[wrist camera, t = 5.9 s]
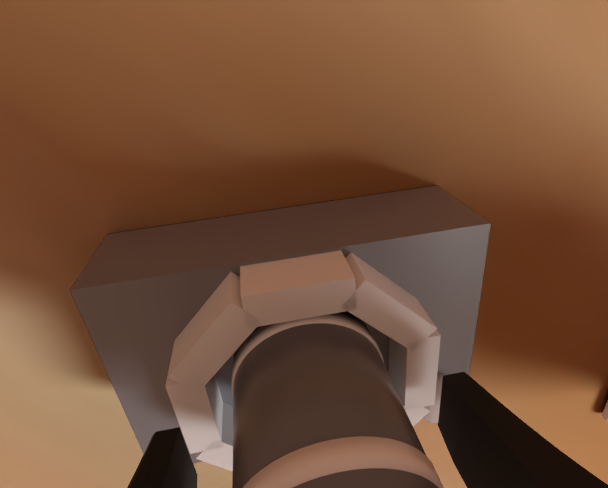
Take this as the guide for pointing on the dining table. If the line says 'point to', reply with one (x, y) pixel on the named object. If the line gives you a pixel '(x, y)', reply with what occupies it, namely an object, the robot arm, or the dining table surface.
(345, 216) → the camera body
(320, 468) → the lens
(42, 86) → the dining table surface
